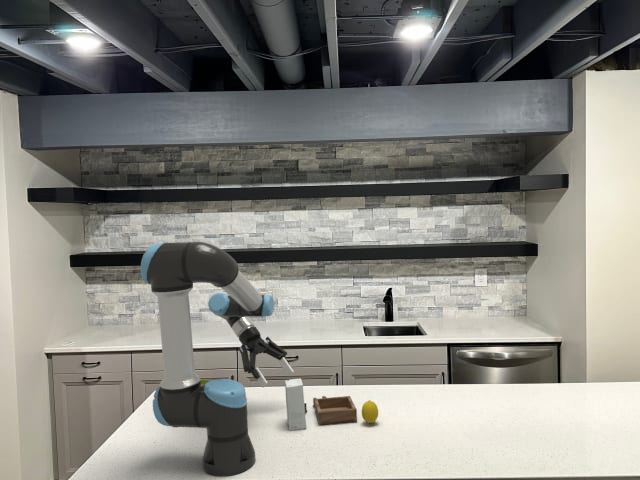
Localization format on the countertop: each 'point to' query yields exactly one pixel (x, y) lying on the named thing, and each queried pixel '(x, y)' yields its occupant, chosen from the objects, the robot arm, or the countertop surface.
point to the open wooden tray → (335, 410)
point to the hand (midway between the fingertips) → (278, 379)
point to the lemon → (369, 411)
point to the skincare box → (295, 404)
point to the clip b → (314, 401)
